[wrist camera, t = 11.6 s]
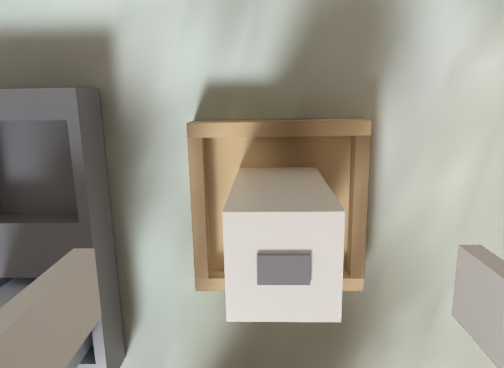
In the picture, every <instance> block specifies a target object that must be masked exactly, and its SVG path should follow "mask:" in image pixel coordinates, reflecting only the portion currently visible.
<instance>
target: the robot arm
mask: <svg viewBox="0 0 504 368" xmlns="http://www.w3.org/2000/svg"><path fill="white" fill-rule="evenodd" d="M452 316H453V317H454V318H455V319H456V320H457V322H458V323H459V324H460V325H461V326H462V327H463V328H464V330H465V331H466V332H467V333H468V334H469V335H470V336H471V338H472V339H473V340H474V341H475V342H476V343H477V344H478V346H479V347H480V348H481V349H482V350H483V351H484V353H485V354H486V355H487V356H488V357H489V358H490V359H491V361H492V362H493V363H494V364H495V365H496V366H497V367H498V368H504V260H502V259H501V258H499V257H498V256H496V255H495V254H493V253H492V252H490V251H489V250H488V249H486V248H485V247H483V246H482V245H459V246H458V256H457V266H456V276H455V286H454V297H453V307H452ZM101 317H102V315H101V306H100V297H99V287H98V278H97V269H96V260H95V251H94V248H73V249H72V250H71V251H70V252H69V253H67V254H66V255H65V256H64V257H62V258H61V259H60V260H59V261H58V262H56V263H55V264H54V265H53V266H51V267H50V268H49V269H48V270H47V271H45V272H44V273H43V274H42V275H40V276H39V277H38V278H37V279H36V280H34V281H33V282H32V283H31V284H29V285H28V286H27V287H26V288H25V289H23V290H22V291H21V292H20V293H18V294H17V295H16V296H15V297H14V298H12V299H11V300H10V301H9V302H7V303H6V304H5V305H4V306H3V307H1V308H0V368H65V367H66V366H67V364H68V363H69V362H70V360H71V359H72V357H73V356H74V355H75V353H76V352H77V351H78V349H79V348H80V346H81V345H82V344H83V342H84V341H85V339H86V338H87V337H88V335H89V334H90V332H91V331H92V330H93V328H94V327H95V325H96V324H97V323H98V321H99V320H100V318H101Z"/></svg>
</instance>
